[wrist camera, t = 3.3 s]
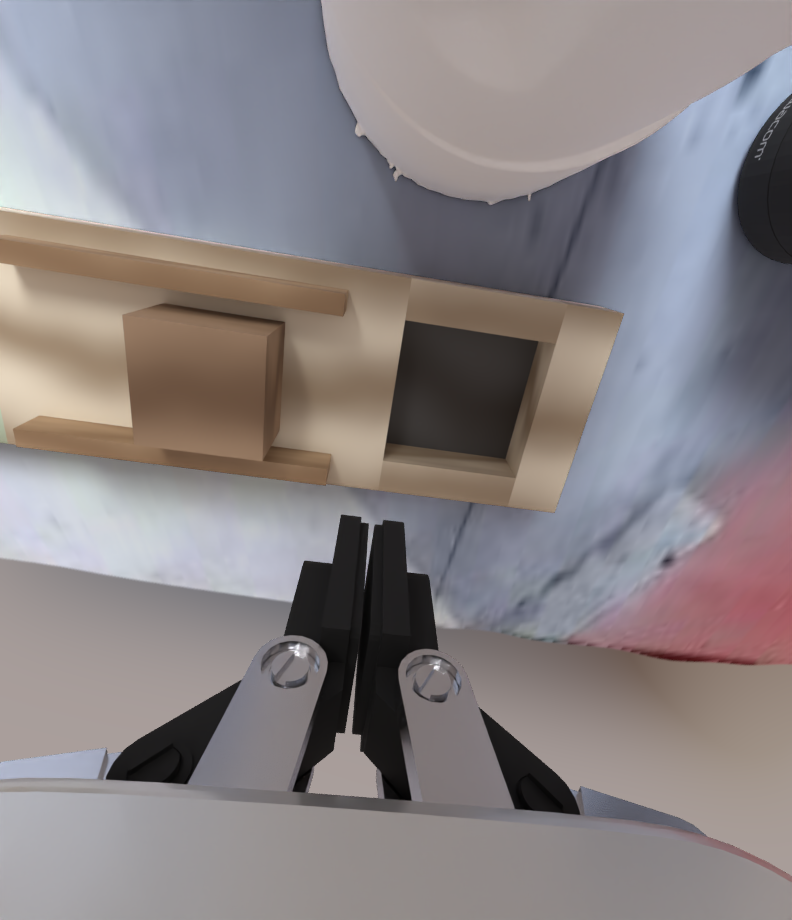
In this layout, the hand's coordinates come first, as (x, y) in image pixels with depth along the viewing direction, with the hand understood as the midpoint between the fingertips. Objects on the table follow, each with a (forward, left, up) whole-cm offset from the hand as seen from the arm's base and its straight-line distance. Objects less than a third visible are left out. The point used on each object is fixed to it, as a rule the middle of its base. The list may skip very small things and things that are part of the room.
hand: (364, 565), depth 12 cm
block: (0, -8, -14) cm, 17 cm away
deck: (0, -8, -17) cm, 19 cm away
